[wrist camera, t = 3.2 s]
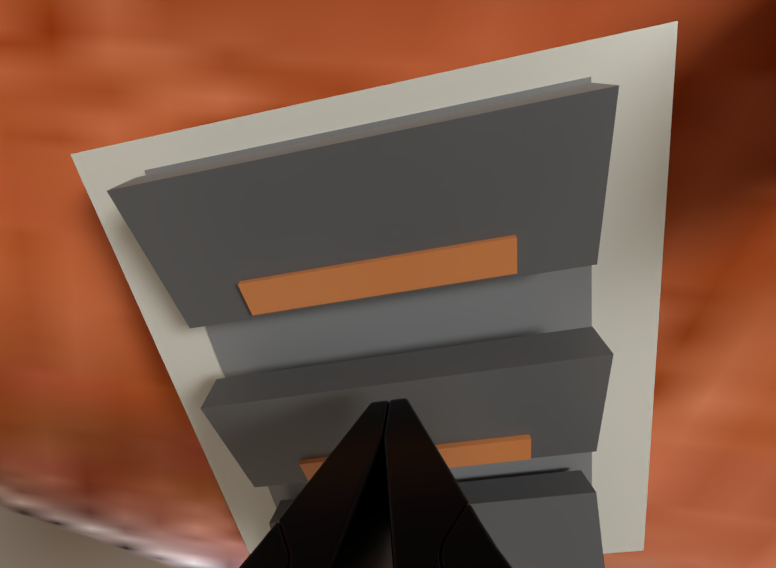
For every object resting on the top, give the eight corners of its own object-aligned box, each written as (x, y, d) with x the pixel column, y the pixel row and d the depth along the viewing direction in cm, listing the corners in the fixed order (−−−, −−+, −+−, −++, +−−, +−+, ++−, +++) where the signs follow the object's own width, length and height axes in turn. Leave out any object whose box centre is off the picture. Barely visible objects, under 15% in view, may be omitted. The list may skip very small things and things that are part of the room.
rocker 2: (573, 408, 12) (598, 455, 11) (268, 444, 13) (253, 491, 12) (584, 315, 10) (616, 358, 9) (222, 367, 11) (197, 412, 10)
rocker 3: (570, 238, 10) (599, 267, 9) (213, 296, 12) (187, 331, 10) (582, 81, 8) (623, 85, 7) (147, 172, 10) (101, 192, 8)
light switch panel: (603, 530, 18) (641, 602, 15) (298, 555, 20) (279, 624, 17) (609, 54, 11) (681, 19, 8) (143, 154, 13) (67, 154, 10)
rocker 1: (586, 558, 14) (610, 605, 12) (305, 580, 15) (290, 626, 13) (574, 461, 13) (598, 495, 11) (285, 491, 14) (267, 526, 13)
